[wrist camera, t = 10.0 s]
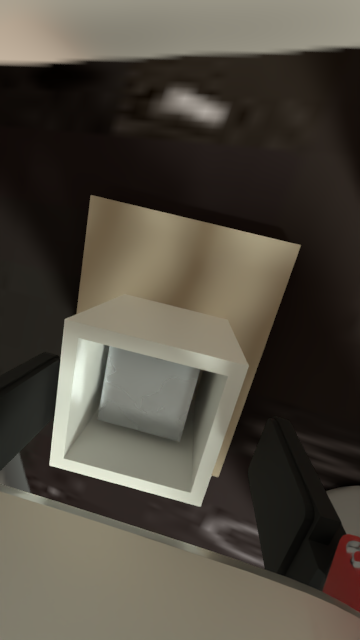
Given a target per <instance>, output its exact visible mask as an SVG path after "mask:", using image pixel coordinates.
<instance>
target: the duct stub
mask: <svg viewBox="0 0 360 640" xmlns="http://www.w3.org/2000/svg"><path fill="white" fill-rule="evenodd" d="M199 372H200V369H198V368H194V367H190V366H186V365H182V364H178V363H174V362H170V361H166V360H163V359H159V358H155V357H151V356H147V355H143V354H139V353H135V352H131V351H127V350H124V349H120V348H116V347H112V346H110V347H109V353H108V359H107V365H106V371H105V377H104V383H103V389H102V395H101V401H100V407H99V413H98V420H101V421H104V422H108V423H112V424H116V425H119V426H123V427H127V428H131V429H134V430H138V431H142V432H146V433H149V434H153V435H157V436H160V437H164V438H168V439H172V440H175V441H179V442H180V439H181V435H182V432H183V428H184V425H185V421H186V418H187V414H188V411H189V407H190V404H191V400H192V397H193V393H194V390H195V386H196V383H197V379H198V376H199Z"/></svg>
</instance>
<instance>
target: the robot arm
mask: <svg viewBox="0 0 360 640" xmlns="http://www.w3.org/2000/svg"><path fill="white" fill-rule="evenodd" d="M60 360H61V359H59V356H58V355H55V354H51V353H48V352H43V353H41V354H40V355H38V356H36V357H34V358H32V359H30V360H29V361H27V362H25V363H23V364H21V365H19V366H17V367H16V368H14V369H12V370H10V371H8V372H6V373H4V374H3V375H1V376H0V470H2V468H3V467H4V466H5V465H7V463H8V462H9V461H11V460H12V459H13V458H14V457H15V456H16V454H18V453H19V452H20V451H21V450H22V449H23V448H24V447H25V446H26V445H27V444H28V443H29V442H30V441H31V440H32V439H33V438H34V437H35V436H36V435H37V434H38V433H39V432H40V431H41V430H42V429H43V428H44V427H45V426H46V425H47V424H48V423H49V422H50V421H51V420H52V419H53V418H54V416H55V408H56V398H57V389H58V379H59V370H60ZM248 479H249V484H250V490H251V495H252V501H253V506H254V511H255V517H256V522H257V528H258V533H259V539H260V544H261V550H262V555H263V560H264V566H265V569H262V568H259V567H256V566H254V565H251V564H248V563H245V562H242V561H239V560H236V559H233V558H230V557H227V556H224V555H221V554H218V553H215V552H212V551H209V550H206V549H203V548H200V547H197V546H194V545H190V544H187V543H184V542H181V541H178V540H175V539H172V538H169V537H166V536H163V535H160V534H157V533H154V532H151V531H147V530H144V529H141V528H138V527H135V526H132V525H129V524H126V523H123V522H119V521H116V520H113V519H110V518H107V517H104V516H101V515H98V514H94V513H91V512H88V511H85V510H82V509H79V508H76V507H72V506H69V505H66V504H63V503H60V502H57V501H53V500H50V499H47V498H44V497H41V496H37V495H34V494H31V493H27V492H24V491H21V490H18V489H15V488H12V487H8V486H5V485H2V484H0V640H360V537H358V536H355V535H351V534H346V532H345V530H344V528H343V526H342V524H341V523H342V522H341V520H340V518H339V516H338V514H337V512H336V510H335V508H334V506H333V504H332V502H331V501H330V499H329V497H328V495H327V493H326V491H325V489H324V487H323V485H322V483H321V481H320V479H319V477H318V475H317V473H316V471H315V469H314V467H313V465H312V463H311V461H310V460H309V458H308V456H307V454H306V452H305V450H304V448H303V446H302V444H301V442H300V440H299V438H298V436H297V434H296V432H295V430H294V428H293V426H292V424H291V422H290V421H289V420H288V419H284V418H281V417H277V416H274V417H273V418H272V419H271V418H269V419H268V420H267V422H266V425H265V427H264V430H263V432H262V435H261V437H260V440H259V442H258V445H257V448H256V450H255V453H254V455H253V458H252V460H251V463H250V465H249V468H248Z"/></svg>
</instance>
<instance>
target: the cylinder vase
mask: <svg viewBox="0 0 360 640" xmlns="http://www.w3.org/2000/svg"><path fill="white" fill-rule="evenodd" d="M326 493H327V495H328V497H329V499H330V501H331V502H332V504H333V506H334V508H335V510H336V512H337V514H338V516H339V518H340V520H341V522H342V523H341V524H342V526H343V528H344V530H345V532H346V534H351V535H355V536H358V537H360V486H346V487H340V488H335V489H332V490H328V491H326Z"/></svg>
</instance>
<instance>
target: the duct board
mask: <svg viewBox="0 0 360 640" xmlns="http://www.w3.org/2000/svg"><path fill="white" fill-rule="evenodd" d="M300 247H301V245H298V244H294V243H290V242H286V241H281V240H277V239H273V238H269V237H265V236H261V235H256V234H252V233H248V232H244V231H240V230H235V229H231V228H227V227H223V226H219V225H215V224H210V223H206V222H202V221H198V220H194V219H189V218H185V217H181V216H177V215H173V214H169V213H164V212H160V211H156V210H152V209H148V208H143V207H139V206H135V205H131V204H127V203H123V202H118V201H114V200H110V199H106V198H102V197H97V196H93V195H91V197H90V205H89V214H88V222H87V230H86V238H85V247H84V255H83V263H82V272H81V280H80V288H79V297H78V305H77V313H76V314H78V313H81V312H83V311H86V310H88V309H90V308H93V307H95V306H98V305H100V304H102V303H105V302H107V301H109V300H112V299H114V298H117V297H119V296H121V295H124V294H127V295H131V296H135V297H139V298H143V299H147V300H151V301H155V302H159V303H163V304H167V305H171V306H175V307H179V308H183V309H187V310H191V311H195V312H199V313H203V314H207V315H211V316H215V317H219V318H223V319H227V320H228V321H229V324H230V326H231V328H232V330H233V332H234V335H235V337H236V339H237V341H238V343H239V345H240V348H241V350H242V352H243V354H244V356H245V358H246V361H247V363H248V365H249V367H248V370H247V373H246V376H245V379H244V382H243V385H242V388H241V391H240V393H239V396H238V399H237V402H236V405H235V408H234V411H233V414H232V417H231V420H230V423H229V425H228V428H227V431H226V434H225V437H224V440H223V443H222V446H221V449H220V452H219V455H218V458H217V460H216V463H215V466H214V469H213V472H212V476H216V477H219V474H220V471H221V468H222V465H223V463H224V460H225V457H226V454H227V451H228V449H229V446H230V443H231V440H232V437H233V435H234V432H235V429H236V426H237V423H238V420H239V418H240V415H241V412H242V409H243V406H244V404H245V401H246V398H247V395H248V392H249V390H250V387H251V384H252V381H253V378H254V376H255V373H256V370H257V367H258V364H259V362H260V359H261V356H262V353H263V350H264V348H265V345H266V342H267V339H268V336H269V334H270V331H271V328H272V325H273V322H274V319H275V317H276V314H277V311H278V308H279V305H280V303H281V300H282V297H283V294H284V291H285V289H286V286H287V283H288V280H289V277H290V275H291V272H292V269H293V266H294V263H295V261H296V258H297V255H298V252H299V249H300ZM202 374H203V370H202V369H200V372H199V376H198V379H197V383H196V386H195V390H194V393H193V397H192V399H193V400H195V398H196V395H197V391H198V388H199V384H200V381H201V377H202Z"/></svg>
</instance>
